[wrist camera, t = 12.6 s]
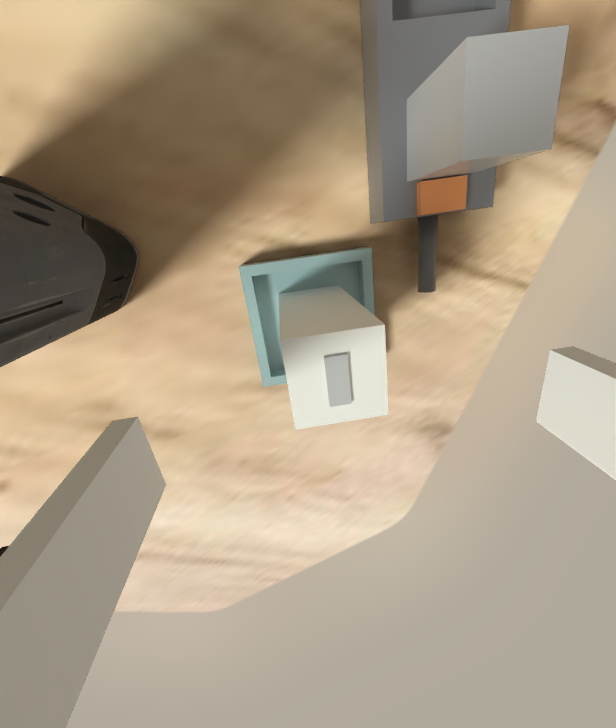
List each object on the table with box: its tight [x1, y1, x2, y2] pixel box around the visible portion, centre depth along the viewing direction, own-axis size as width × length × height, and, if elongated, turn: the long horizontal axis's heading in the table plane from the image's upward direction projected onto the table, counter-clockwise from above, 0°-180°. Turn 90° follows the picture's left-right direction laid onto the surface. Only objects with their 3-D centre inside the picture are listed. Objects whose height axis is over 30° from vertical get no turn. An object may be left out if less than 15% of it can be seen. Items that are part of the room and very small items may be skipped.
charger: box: [279, 285, 388, 430], centre depth 19 cm, size 4×4×11 cm
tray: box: [239, 247, 375, 387], centre depth 24 cm, size 9×9×2 cm
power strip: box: [360, 0, 569, 292], centre depth 16 cm, size 23×7×9 cm, turn 7°
